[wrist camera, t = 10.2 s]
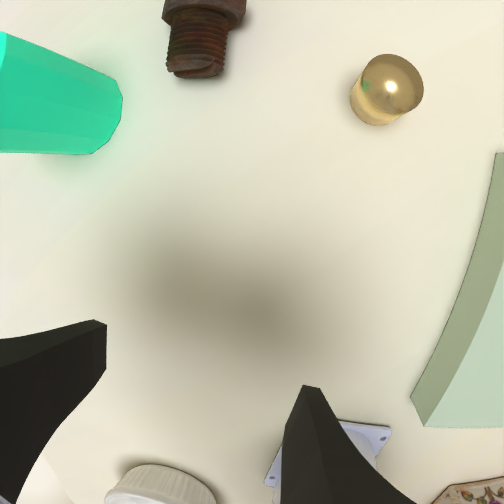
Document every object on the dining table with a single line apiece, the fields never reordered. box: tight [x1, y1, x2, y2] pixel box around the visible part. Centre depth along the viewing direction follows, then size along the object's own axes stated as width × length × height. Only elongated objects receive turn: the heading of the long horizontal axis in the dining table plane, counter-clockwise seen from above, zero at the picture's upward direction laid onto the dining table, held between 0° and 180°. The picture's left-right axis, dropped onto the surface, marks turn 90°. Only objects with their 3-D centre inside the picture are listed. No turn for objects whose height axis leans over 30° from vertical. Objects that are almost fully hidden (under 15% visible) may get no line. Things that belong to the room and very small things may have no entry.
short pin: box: [350, 54, 424, 126], centre depth 14 cm, size 3×3×4 cm
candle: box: [0, 31, 123, 155], centre depth 12 cm, size 6×6×12 cm
